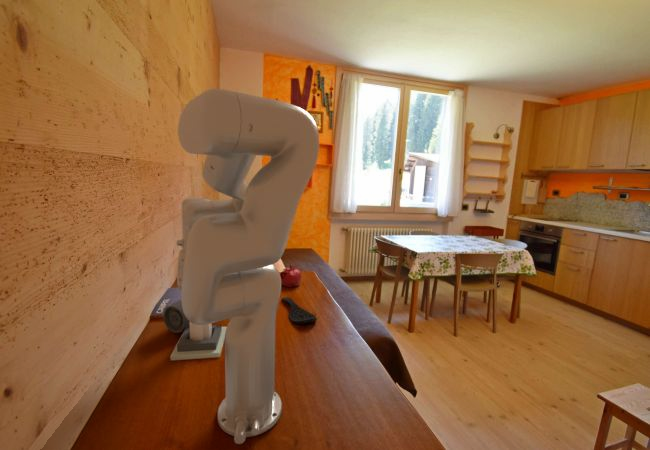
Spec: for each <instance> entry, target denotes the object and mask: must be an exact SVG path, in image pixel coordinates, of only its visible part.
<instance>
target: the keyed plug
mask: <svg viewBox="0 0 650 450" xmlns="http://www.w3.org/2000/svg"><path fill="white" fill-rule="evenodd" d="M189 322H190V321H189ZM212 325H213V323H211V324H206V325H196V324H193V323H191V322H190V339H192V341H201V340H205V339H206V338H211V337H212Z"/></svg>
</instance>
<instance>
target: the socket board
mask: <svg viewBox="0 0 650 450" xmlns="http://www.w3.org/2000/svg"><path fill="white" fill-rule="evenodd" d="M226 329H227V326H222V324H215V325H214V324H212V337H211V338H206V339H205V340H201V341H192V339H190V327H186V329H185V330H184V331H182V334H181V336H180V337H179V340H178V341H177V343H176V344H175V347H174V349H173V350H172V353H171V354H170V356H169V357H170V361H182V360H183V361H185V360H195V359H210V358H220V357H221V354H222V351H223V347H224V344H225V333H226Z"/></svg>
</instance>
